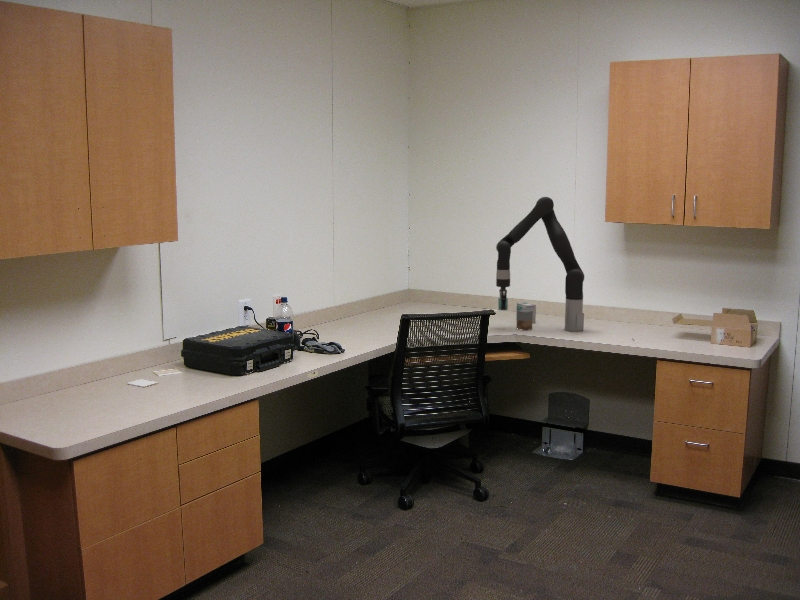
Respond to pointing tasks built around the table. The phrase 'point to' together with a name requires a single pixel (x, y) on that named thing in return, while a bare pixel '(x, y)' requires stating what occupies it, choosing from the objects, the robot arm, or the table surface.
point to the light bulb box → (527, 307)
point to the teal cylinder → (500, 304)
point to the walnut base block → (524, 325)
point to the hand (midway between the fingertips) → (503, 308)
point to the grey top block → (524, 315)
